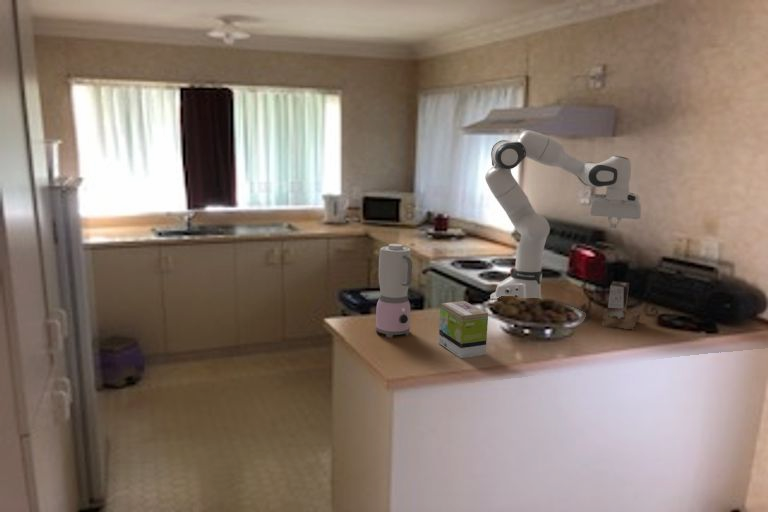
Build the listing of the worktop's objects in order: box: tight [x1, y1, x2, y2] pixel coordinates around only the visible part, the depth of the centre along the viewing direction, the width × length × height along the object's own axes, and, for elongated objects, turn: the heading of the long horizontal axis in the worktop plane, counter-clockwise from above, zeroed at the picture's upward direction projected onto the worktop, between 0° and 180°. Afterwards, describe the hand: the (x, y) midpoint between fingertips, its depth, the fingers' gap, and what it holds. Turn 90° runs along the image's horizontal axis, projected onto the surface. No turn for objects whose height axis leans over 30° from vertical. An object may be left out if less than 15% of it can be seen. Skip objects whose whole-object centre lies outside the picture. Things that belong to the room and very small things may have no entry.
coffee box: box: [607, 280, 630, 320], centre depth 231 cm, size 9×6×16 cm
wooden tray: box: [601, 308, 641, 331], centre depth 232 cm, size 14×13×4 cm
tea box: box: [438, 300, 489, 359], centre depth 197 cm, size 15×10×15 cm
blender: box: [375, 243, 413, 339], centre depth 209 cm, size 16×12×32 cm
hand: (613, 227), depth 252 cm, fingers closed
